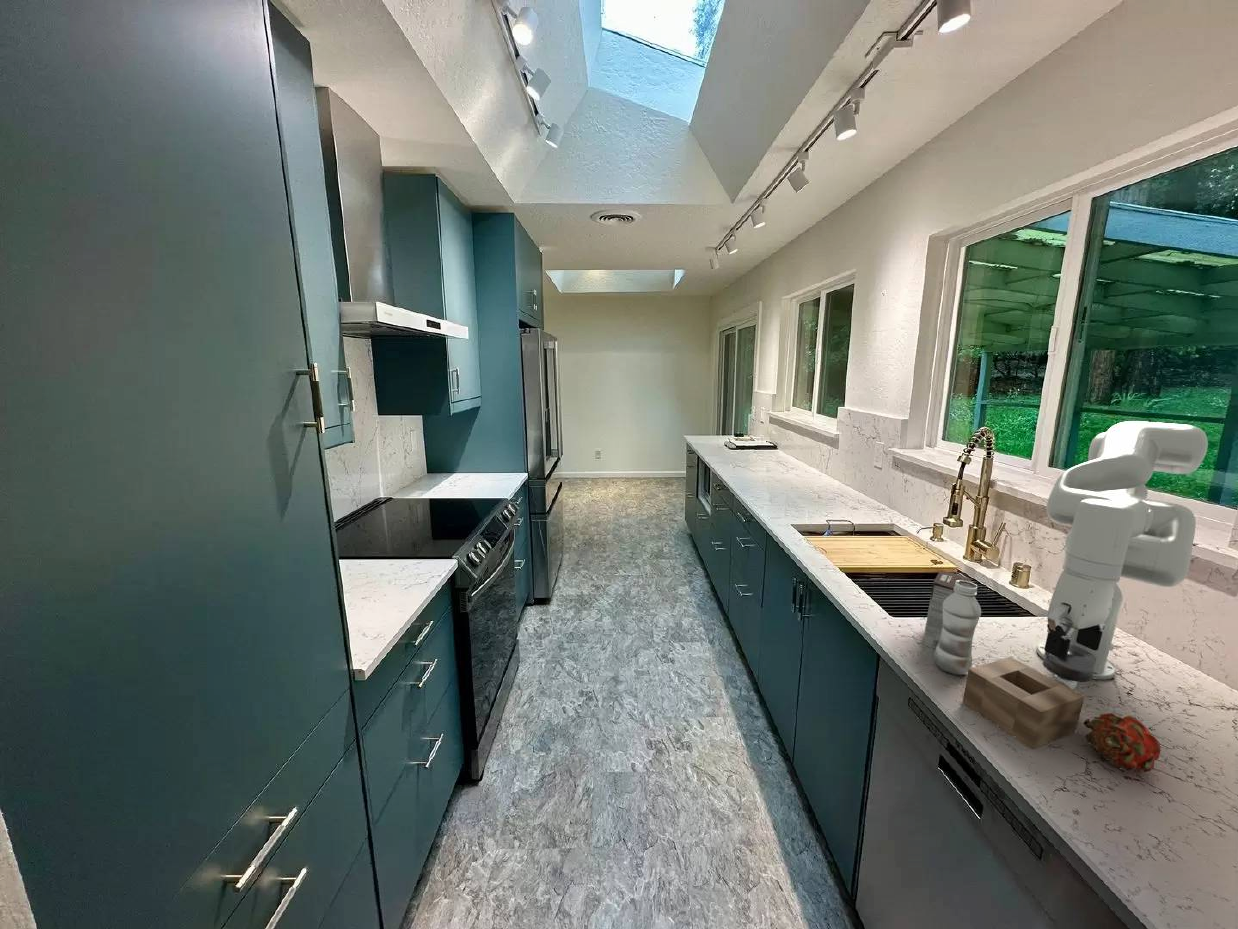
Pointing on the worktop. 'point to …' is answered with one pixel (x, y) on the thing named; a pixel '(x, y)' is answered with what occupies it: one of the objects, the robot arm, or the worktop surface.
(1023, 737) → the hitch block
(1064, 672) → the grey metal cylinder
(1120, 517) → the robot arm
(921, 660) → the worktop surface
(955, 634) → the plastic bottle
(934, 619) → the coffee box
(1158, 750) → the dragon fruit
